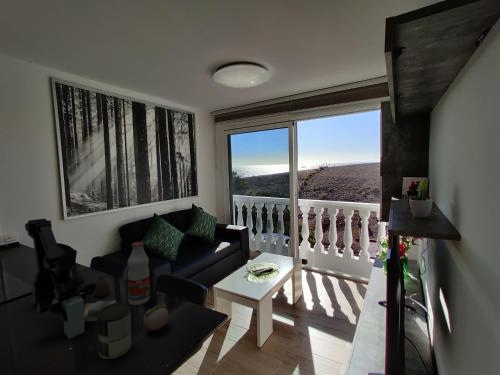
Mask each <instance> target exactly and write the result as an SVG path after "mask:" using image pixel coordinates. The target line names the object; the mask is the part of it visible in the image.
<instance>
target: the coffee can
mask: <svg viewBox="0 0 500 375" xmlns="http://www.w3.org/2000/svg"><path fill="white" fill-rule="evenodd" d="M131 307H132V305H131V304H130V303H129V302H118V303H114V304H110V305H108V306H105V307H104V308H102V309H101V310H100V311H99V312H98V314H97V318H98V321H97V330H98V331H97V332H98V333H97V334H98V355H99V357H100V358H101V359H105V360H111V359H117V358H119V357H121V356H123V355H125V354H126V353H127V352H129V350H130V349H131V347H132V327H131V326H132V325H131V323H132V318H131V310H132V308H131Z"/></svg>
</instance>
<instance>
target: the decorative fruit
mask: <svg viewBox="0 0 500 375" xmlns="http://www.w3.org/2000/svg"><path fill="white" fill-rule="evenodd" d="M167 307H168V306H167V305H166V304H160V305H155V306H153V308H149V309H148V310H147V311H145V313H144V316H143V324H144V326H145V327H146V328H147V329H148V330H150V331H157V330H159V329H161V328H163V327H164V326H165V325H166V323H167V322H168V319H169V311H168V309H167Z"/></svg>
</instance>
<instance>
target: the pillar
mask: <svg viewBox="0 0 500 375" xmlns="http://www.w3.org/2000/svg"><path fill="white" fill-rule="evenodd" d="M62 303H63V305H62V308H63V310H64V312H65V314H66V317H67V322H65V321H64V320H63V328H64V329H63V331H64V332H63V334H64V335H65V336H66V337H67V338H68V339H73V338H74V337H77V336H79V335H81V334H83V333H85V322H84V300H83V299H82V298H81V297H79V296H76V297H71V298H70V299H67V300H64V301H63V302H62Z"/></svg>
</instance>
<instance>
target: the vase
mask: <svg viewBox="0 0 500 375" xmlns="http://www.w3.org/2000/svg"><path fill="white" fill-rule="evenodd" d="M94 284H96V287H97V289H96V290H95V292H94V295H95V296H96V297H98V298H101V297H104V296H106V295H107V294H108V293H109V291H110V287H111V286H110V283H109V281H108V280H107V279H106V278H105V276H100V277H98V279H97V280H96V281H95V283H94Z"/></svg>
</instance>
